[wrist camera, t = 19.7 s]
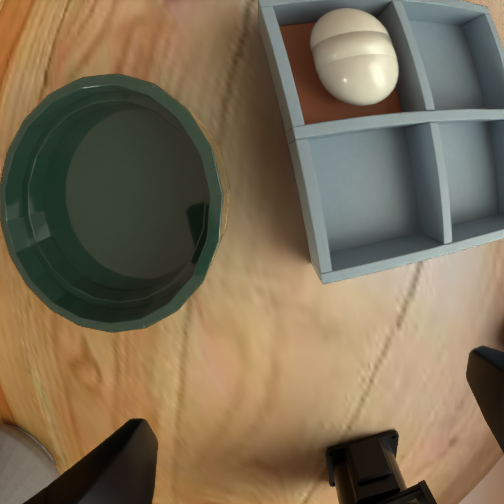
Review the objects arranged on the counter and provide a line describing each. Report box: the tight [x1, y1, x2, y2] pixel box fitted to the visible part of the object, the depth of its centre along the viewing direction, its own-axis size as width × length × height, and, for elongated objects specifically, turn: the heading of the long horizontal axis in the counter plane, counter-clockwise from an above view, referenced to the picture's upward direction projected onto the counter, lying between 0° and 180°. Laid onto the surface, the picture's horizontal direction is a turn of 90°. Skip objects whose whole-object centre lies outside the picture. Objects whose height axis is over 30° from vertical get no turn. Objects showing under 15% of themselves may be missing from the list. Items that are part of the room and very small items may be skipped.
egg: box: [310, 8, 399, 106], centre depth 13 cm, size 5×4×4 cm
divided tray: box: [258, 0, 504, 284], centre depth 15 cm, size 15×15×3 cm
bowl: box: [0, 74, 230, 333], centre depth 16 cm, size 13×13×4 cm
